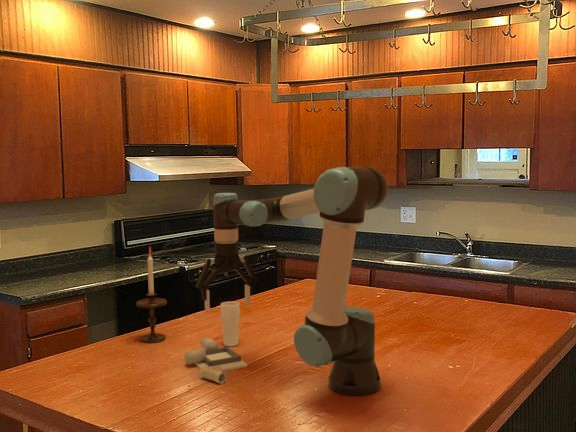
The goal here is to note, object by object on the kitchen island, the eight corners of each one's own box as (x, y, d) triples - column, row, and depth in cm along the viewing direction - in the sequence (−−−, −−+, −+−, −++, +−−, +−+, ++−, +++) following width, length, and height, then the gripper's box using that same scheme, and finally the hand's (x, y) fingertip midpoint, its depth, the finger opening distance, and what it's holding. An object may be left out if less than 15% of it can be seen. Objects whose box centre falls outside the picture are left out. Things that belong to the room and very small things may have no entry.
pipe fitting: (215, 374, 188) (199, 379, 183) (215, 362, 188) (199, 366, 183) (233, 380, 183) (217, 385, 178) (234, 368, 183) (218, 372, 178)
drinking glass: (244, 344, 216) (243, 303, 215) (230, 348, 212) (229, 307, 210) (231, 340, 221) (230, 300, 220) (217, 344, 216) (216, 303, 215)
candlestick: (145, 334, 230) (142, 243, 226) (172, 335, 228) (169, 244, 224) (132, 343, 219) (129, 248, 216) (160, 344, 217) (157, 248, 214)
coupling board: (247, 366, 193) (247, 352, 193) (196, 376, 185) (196, 361, 185) (222, 347, 213) (222, 334, 212) (175, 355, 205) (175, 341, 204)
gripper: (258, 237, 199) (259, 300, 201) (184, 243, 189) (186, 309, 191) (267, 240, 192) (268, 305, 195) (191, 246, 182) (193, 315, 184)
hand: (227, 307), depth 193 cm, fingers open, 13 cm apart
